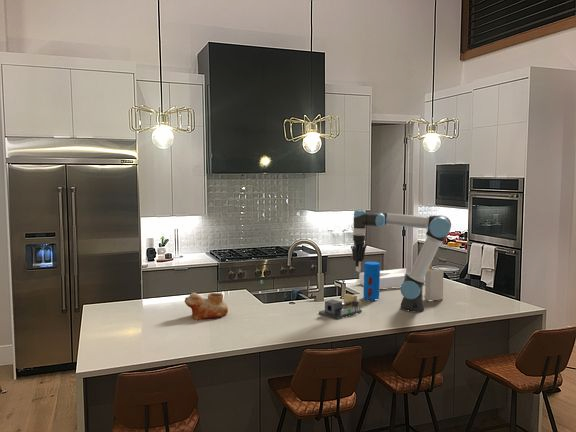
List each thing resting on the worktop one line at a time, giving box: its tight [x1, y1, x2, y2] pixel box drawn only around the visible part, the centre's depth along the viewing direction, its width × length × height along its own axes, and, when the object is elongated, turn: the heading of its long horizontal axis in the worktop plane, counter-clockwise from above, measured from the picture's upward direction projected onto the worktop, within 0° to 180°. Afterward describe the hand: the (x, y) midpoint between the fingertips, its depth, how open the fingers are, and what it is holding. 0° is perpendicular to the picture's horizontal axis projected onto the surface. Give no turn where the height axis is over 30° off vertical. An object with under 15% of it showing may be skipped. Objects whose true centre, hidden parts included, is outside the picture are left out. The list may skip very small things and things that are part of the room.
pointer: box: [352, 300, 359, 310], centre depth 327 cm, size 3×2×5 cm, turn 42°
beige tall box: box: [423, 263, 445, 301], centre depth 364 cm, size 8×12×26 cm
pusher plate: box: [342, 293, 363, 308], centre depth 328 cm, size 12×16×8 cm
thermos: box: [362, 261, 381, 301], centre depth 363 cm, size 11×11×25 cm
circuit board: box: [318, 298, 363, 320], centre depth 328 cm, size 15×23×8 cm, turn 132°
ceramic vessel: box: [184, 292, 229, 321], centre depth 317 cm, size 14×26×15 cm, turn 111°
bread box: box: [358, 268, 407, 289], centre depth 407 cm, size 45×22×10 cm, turn 116°
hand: (358, 271), depth 336 cm, fingers closed
